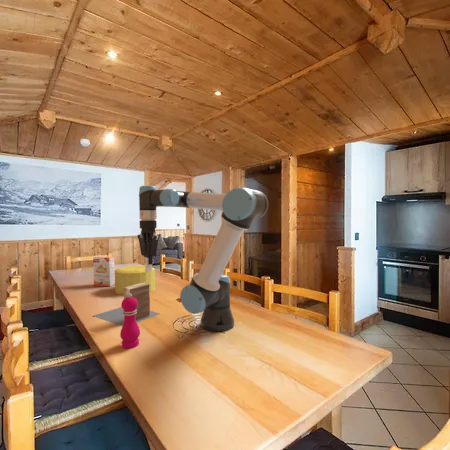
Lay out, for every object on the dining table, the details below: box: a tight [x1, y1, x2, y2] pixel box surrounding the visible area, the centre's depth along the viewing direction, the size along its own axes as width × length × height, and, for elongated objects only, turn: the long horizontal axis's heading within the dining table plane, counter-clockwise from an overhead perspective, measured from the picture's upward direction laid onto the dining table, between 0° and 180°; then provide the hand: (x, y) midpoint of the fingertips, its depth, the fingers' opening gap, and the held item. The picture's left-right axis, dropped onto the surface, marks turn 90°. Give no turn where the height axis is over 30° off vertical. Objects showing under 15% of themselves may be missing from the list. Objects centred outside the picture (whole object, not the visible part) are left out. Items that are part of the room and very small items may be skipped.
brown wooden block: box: [123, 283, 151, 321], centre depth 138 cm, size 4×12×16 cm, turn 145°
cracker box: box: [92, 255, 116, 288], centre depth 208 cm, size 14×6×21 cm, turn 73°
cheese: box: [114, 264, 156, 296], centre depth 196 cm, size 26×26×15 cm
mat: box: [92, 306, 161, 327], centre depth 144 cm, size 26×21×1 cm
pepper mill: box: [119, 293, 141, 349], centre depth 110 cm, size 7×7×20 cm
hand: (148, 271), depth 132 cm, fingers closed
